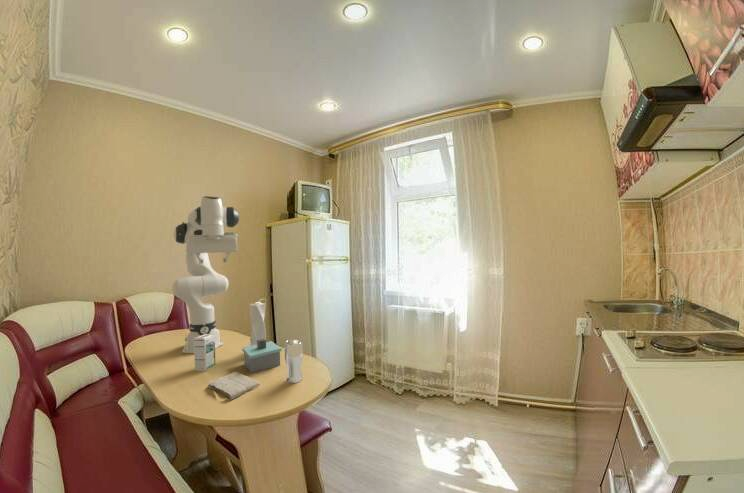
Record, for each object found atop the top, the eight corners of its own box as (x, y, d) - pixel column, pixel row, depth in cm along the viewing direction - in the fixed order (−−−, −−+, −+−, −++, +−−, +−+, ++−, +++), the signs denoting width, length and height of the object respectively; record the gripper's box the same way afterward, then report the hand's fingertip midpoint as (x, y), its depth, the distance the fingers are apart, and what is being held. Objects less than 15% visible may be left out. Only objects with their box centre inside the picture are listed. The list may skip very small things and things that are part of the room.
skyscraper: (268, 351, 143) (266, 297, 143) (267, 357, 136) (266, 299, 136) (250, 354, 141) (249, 298, 141) (248, 360, 133) (247, 301, 133)
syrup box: (206, 371, 121) (205, 338, 121) (194, 371, 122) (193, 337, 122) (215, 366, 126) (215, 334, 126) (204, 365, 127) (203, 333, 127)
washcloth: (235, 376, 116) (235, 369, 116) (261, 387, 106) (261, 379, 106) (205, 388, 107) (205, 380, 107) (230, 402, 96) (230, 393, 96)
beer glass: (284, 377, 113) (283, 340, 113) (302, 374, 115) (301, 338, 115) (286, 385, 106) (285, 346, 106) (305, 381, 109) (304, 343, 109)
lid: (242, 353, 126) (242, 339, 126) (271, 346, 134) (271, 333, 134) (250, 361, 115) (249, 347, 115) (281, 353, 123) (281, 340, 123)
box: (244, 366, 125) (243, 350, 125) (271, 358, 133) (270, 344, 133) (251, 375, 116) (251, 358, 116) (280, 366, 123) (279, 351, 123)
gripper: (236, 232, 134) (236, 261, 134) (185, 232, 122) (185, 264, 122) (239, 231, 129) (240, 261, 129) (186, 231, 117) (187, 264, 117)
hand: (213, 262), depth 125 cm, fingers open, 8 cm apart
